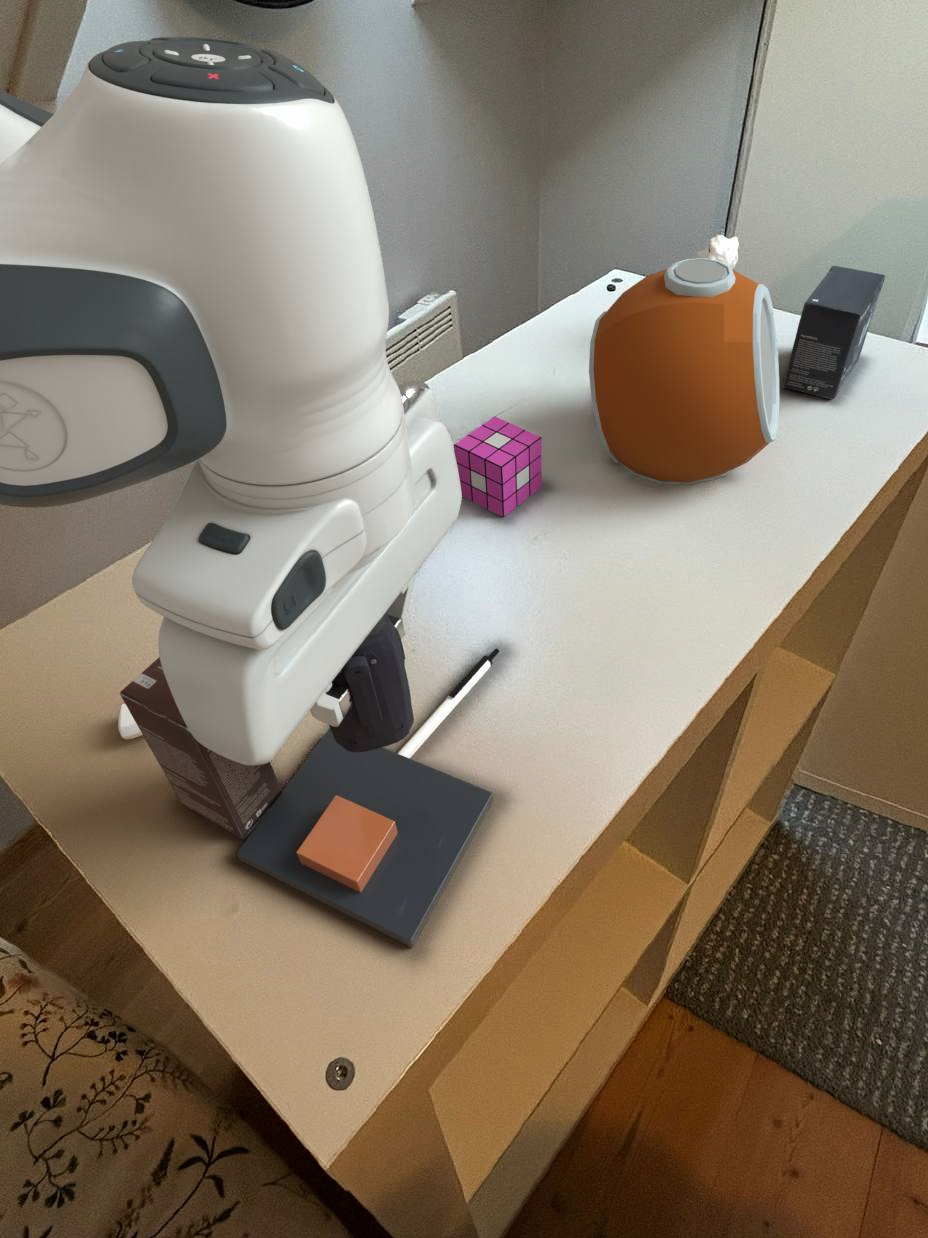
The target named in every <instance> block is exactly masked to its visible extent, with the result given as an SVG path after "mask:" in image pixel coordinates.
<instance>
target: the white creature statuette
mask: <svg viewBox="0 0 928 1238" xmlns="http://www.w3.org/2000/svg"><path fill="white" fill-rule="evenodd" d="M739 244H740V243H739V238H738V237H737V236H732V237H731V238H727V237H726V236H724V234H717V235H715V236H714V237H711V238H710V240H709V242H708V244H707V246H706V247H705V249H702V250H700V251H698V252H697V253H696V255H697V258H706V259H711V260H717V261H721V262H723V263H724V264H726V265H728V266H730V267H731V268H732V270H734V269H735V267H736V265H737V263H738V261H739V253H738V249H739Z"/></svg>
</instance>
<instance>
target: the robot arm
mask: <svg viewBox="0 0 928 1238" xmlns="http://www.w3.org/2000/svg"><path fill="white" fill-rule="evenodd" d="M86 64H87V65H86V66H85V68H84V70H83V72H82V75H81V77H80V79H79V81H78V83H77V84H76V86H75V88H74V89H73V90H72V92H71V93H70V95H69V96H68V97H67V98H66V99H65V101H64V102H63V103H62V104H61V105H60V106H59V108H57V110H56V111H55V113H53V112H50V111H48V110H45V109H43V108H41V107H38V106H36V105H34V104H32V103H29V102H27V101H25V100H23V99H21V98H19V97H17V96H14V95H12V94H10V93H8V92H5V91H4V90H2V89H0V505H1V506H7V507H17V508H34V509H36V508H37V509H38V508H51V507H53V508H54V507H59V506H66V505H71V504H75V503H81V502H83V501H87V500H90V499H93V498H97V497H100V496H103V495H107V494H110V493H113V492H116V491H120V490H122V489H126V488H129V487H131V486H135V485H137V484H140V483H143V482H147V481H149V480H152V479H154V478H158V477H160V476H163V475H166V474H168V473H170V472H174V471H176V470H178V469H180V468H182V467H184V466H187V465H189V464H191V463H193V462H194V464H193V465H192V467H191V468H190V470H189V472H188V475H187V477H186V479H185V482H184V484H183V486H182V488H181V491H180V492H179V495H178V496H177V498H176V500H175V502H174V504H173V506H172V508H171V509H170V511H169V513H168V515H167V517H166V518H165V520H164V522H163V523H162V525H161V526H160V528H159V530H158V531H157V533H156V535H155V536H154V538H153V539H152V540H151V542H150V544H149V545H148V546H147V548H146V550H145V551H144V553H143V554H142V556H141V557H140V559H139V561H138V562H137V564H136V566H135V568H134V571H133V573H132V578H131V582H132V583H131V584H132V588H133V590H134V593H135V595H136V597H137V599H138V600H139V601H140V603H141V604H142V605H144V606H145V607H146V608H148V609H150V610H152V611H153V612H155V613H156V614H158V615H160V616H162V617H163V618H162V620H161V623H160V627H159V630H158V641H157V646H158V657H160V661H161V665H162V668H163V671H164V674H165V677H166V680H167V683H168V686H169V688H170V690H171V693H172V695H173V698H174V700H175V702H176V705H177V707H178V709H179V711H180V713H181V715H182V717H183V720H184V722H185V723H186V725H187V727H188V729H189V731H190V732H191V734H192V735H193V737H194V738H195V739H196V740H197V741H198V742H199V743H200V744H202V745H203V746H205V747H206V748H208V749H210V750H212V751H213V752H215V753H217V754H219V755H221V756H223V757H226V758H228V759H230V760H233V761H235V762H238V763H241V764H244V765H263V764H266V763H268V762H270V763H271V761H272V760H273V759H274V758H275V756H276V755H277V754H278V752H279V751H280V750H281V749H282V747H283V745H285V743H286V742H287V740H288V739H289V738H290V737H291V735H292V734H294V731H295V730H296V729H297V728H298V726H299V725H300V723H302V722H303V720H304V718H306V716H307V715H308V713H309V712H310V714H311V715H312V717H313V718H315V719H316V720H317V721H319V722H321V723H324V724H326V725H328V726H329V725H331V726H334V727H337V726H339V724H340V723H341V721H342V719H343V718H344V717H345V716H346V714H347V713H348V711H349V710H350V708H351V707H352V706H353V705H352V702H351V701H350V694H349V690H348V689H346V688H343V687H341V686H333V685H332V681H333V680H334V678H335V677H336V676H337V674H338V673H339V672H340V670H341V669H342V668H343V667H344V665H345V664H346V663H347V661H348V660H349V659H350V658H351V656H352V655H353V654H354V652H355V651H356V650H357V649H358V647H359V646H360V645H361V643H362V642H363V641H364V639H365V638H366V637H367V636H368V634H369V633H370V632H371V630H372V629H373V628H374V627H375V625H376V624H377V623H378V621H379V620H380V619H381V618H382V616H383V615H384V614H385V612H386V614H387V615H388V617H389V619H390V620H391V622H392V624H393V626H395V627H396V628H397V630H398V632H399V635H400V638H401V640H403V638H404V637H405V636H406V635H407V633H408V631H409V630H410V626H409V625H410V624H409V620H408V613H407V612H408V611H409V605H410V602H411V598H412V593H413V589H414V584H415V579H416V578H415V575H416V574H417V573H418V571H419V570H420V569H421V568H422V566H423V565H424V563H425V562H426V561H427V559H428V558H429V557H430V555H432V553H433V552H434V551H435V549H436V548H437V547H438V545H439V544H440V542H442V540H443V539H444V537H445V536H447V534H448V532H449V531H450V530H451V529H452V527H453V526H454V525H455V524H456V522H457V521H458V517H459V513H460V510H461V505H462V499H463V496H462V492H461V485H460V478H459V473H458V467H457V462H456V457H455V453H454V444H453V441H452V437H451V435H450V432H449V430H448V429H447V426H446V425H445V424H444V423H443V422H441V421H440V420H439V419H438V418H439V417H438V416H439V415H438V409H437V408H438V407H437V399H436V394H435V391H434V389H432V388H430V386H429V385H428V384H427V383H425V382H424V381H415V380H412V379H409V380H406V381H404V382H402V383H401V384H400V385H398V383H397V381H396V379H395V377H394V375H393V373H392V371H391V368H390V366H389V362H388V359H387V358H388V357H387V350H386V348H387V346H386V343H387V335H388V331H389V323H390V321H389V320H390V305H389V304H390V302H389V296H388V288H387V283H386V282H387V281H386V276H385V275H386V274H385V269H384V263H383V256H382V251H381V245H380V239H379V234H378V229H377V224H376V219H375V214H374V209H373V205H372V200H371V195H370V190H369V186H368V183H367V178H366V175H365V171H364V168H363V167H364V166H363V164H362V163H363V162H362V160H361V155H360V153H359V149H358V146H357V143H356V140H355V137H354V134H353V132H352V129H351V127H350V124H349V122H348V119H347V118H346V114H345V112H344V111H343V109H342V107H341V105H340V104H339V102H338V101H337V99H336V98H335V97H334V96H333V95H332V93H331V92H330V91H329V90H328V88H327V87H325V86H324V85H323V84H322V83H321V82H320V80H318V78H317V77H316V76H315V75H313V74H312V73H311V72H310V71H308V70H307V69H305V67H303V66H302V65H300V64H299V63H297V62H296V61H294V60H292V59H290V58H289V57H287V56H286V55H284V54H281V53H279V52H277V51H274V50H271V49H266V48H265V49H264V48H260V47H257V46H255V45H254V44H251V43H246V42H240V41H234V40H227V39H220V38H211V37H203V36H202V37H200V36H163V37H153V38H151V39H150V40H148V39H147V40H133V41H131V40H130V41H126V42H123V43H122V42H121V43H118V44H116V45H113V46H111V47H109V48H108V49H106V50H103V51H101V52H98V53H97V54H95V55H94V56H92V58H91V59H89V61H88V63H86Z"/></svg>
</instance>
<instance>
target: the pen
mask: <svg viewBox="0 0 928 1238" xmlns="http://www.w3.org/2000/svg"><path fill="white" fill-rule="evenodd" d="M499 653H500V650H499V648H494V650H492V651H491V653H490V654H489V655H483V656H482V657H481V658H480V660H478V662H476V663H475V665H474V666H473V667H472V668H471V669H470V671H469V672H468V673H467V674H466V675H465V676H464V677H463V678H462V679H461V681H459V682H458V684H457V685H456V686H455V687H454V688H453V690H452V691H451V692H450V693H449V694H448V696H447V697H446V698H445V699H444V700H443V701H442V702H441V703H440V705H439V706H438V707H437V708H436V709H435V710H434V712H432V713H431V715H430V716H429V718H428V719H426V720H425V721H424V723H423V724H422V725H421V726H420V727H419V729H418V730H417V731H416V732H414V734H413V735H412V736H411V738H410V739H409V740H407V742H406V743H405V744H404V745H403V746H402V748H400V750H399V751H398V752H396V753H397V754H400V755H402V756H405V757H407V758H409V759H412V756H414V754H415V753H416V752H417V751H418V750H419V749H420V747H421V746H422V745H423V744H424V743H425V742H426V741H427V740H428V738H430V736H431V735H432V734H433V733H434V732H435V731H436V729H438V727H439V726H440V725H441V723H443V722H444V720H445V719H446V718H447V717H448V716H449V714H450V713H451V712H452V711H453V710H454V709H455V708H456V707H457V706H458V704H460V702H461V701H462V700H463V699H464V698H465V697H466V695H468V693H469V692H470V691H471V690H472V688H474V686H476V684H477V683H478V682H479V681H480V680H481V678H482V677H483V676H484V675H485V674H486V673H487V671H488V670H489V669H490V668H491V667H492V666H493V663H494V662H493V659H494V658H495V657H496V656H497V655H498V654H499Z"/></svg>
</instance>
